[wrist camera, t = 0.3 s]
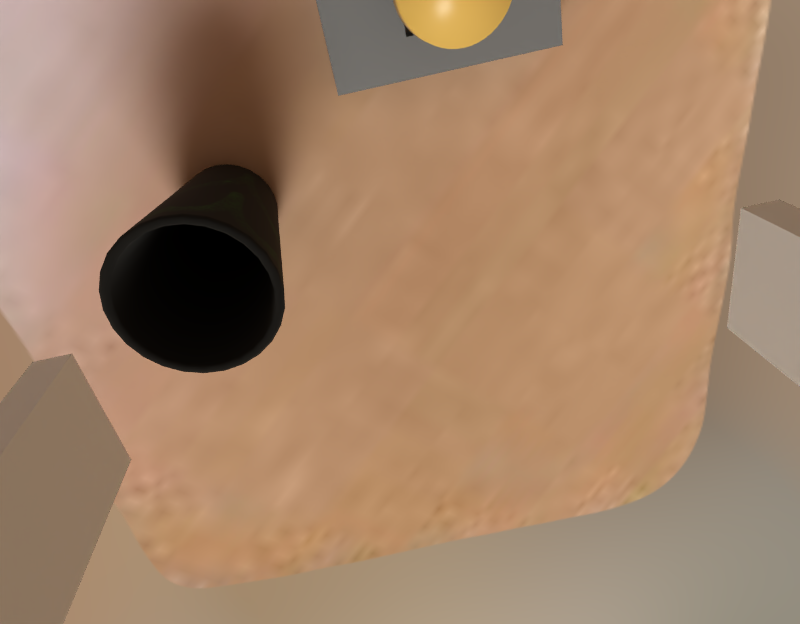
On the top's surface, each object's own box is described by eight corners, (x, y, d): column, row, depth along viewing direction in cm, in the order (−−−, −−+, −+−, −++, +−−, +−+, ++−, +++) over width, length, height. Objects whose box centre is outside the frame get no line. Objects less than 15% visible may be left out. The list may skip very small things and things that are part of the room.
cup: (202, 282, 37) (157, 395, 27) (140, 172, 34) (59, 253, 23) (314, 243, 37) (311, 341, 26) (263, 127, 33) (237, 189, 23)
